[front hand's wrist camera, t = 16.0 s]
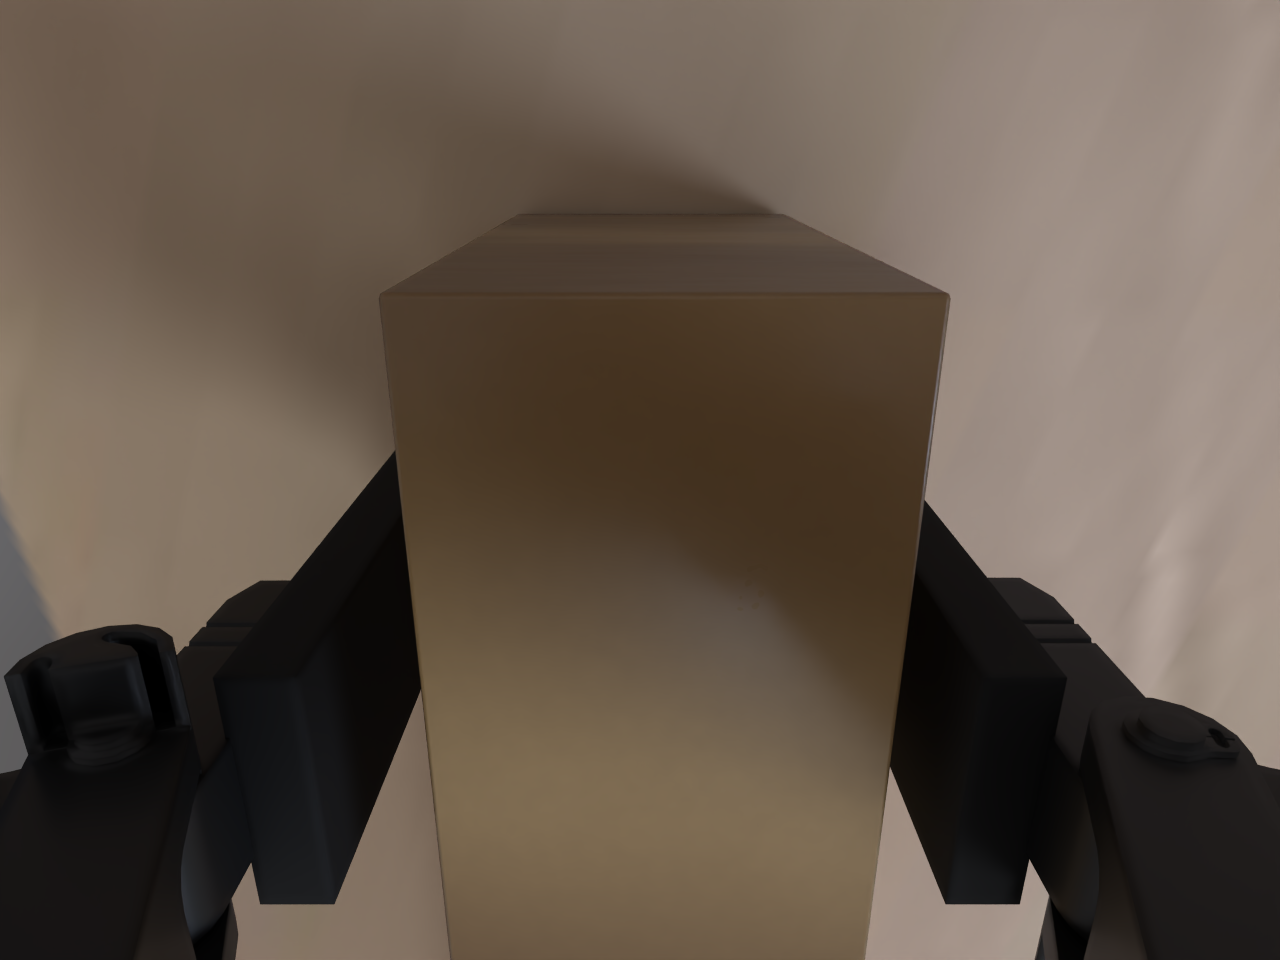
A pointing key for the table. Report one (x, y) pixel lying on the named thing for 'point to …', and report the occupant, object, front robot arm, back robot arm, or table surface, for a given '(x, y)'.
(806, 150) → the table surface
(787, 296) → the beam
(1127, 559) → the table surface
